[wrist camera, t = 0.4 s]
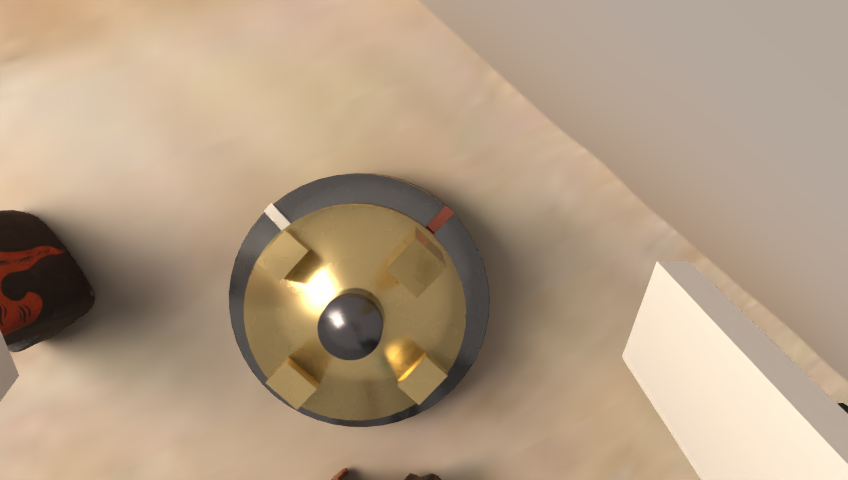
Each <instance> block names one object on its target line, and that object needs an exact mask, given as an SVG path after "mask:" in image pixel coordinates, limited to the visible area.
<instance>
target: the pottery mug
mask: <svg viewBox="0 0 848 480" xmlns="http://www.w3.org/2000/svg"><path fill="white" fill-rule="evenodd" d="M347 473H348V469H347V468H345V469H343V470H342V471H340V472H339V473H338V474H337V475H336V476H334V477H333V478H332V480H342V479H343V478H344V477H345V476H346V475H347ZM405 480H441V479H440V478H439V476H437V475H435V474H429V475H426V476H423V477H419V476H417V475H414V474H411V473H410V474H409V475H408V476H407V477H406V479H405Z"/></svg>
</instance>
